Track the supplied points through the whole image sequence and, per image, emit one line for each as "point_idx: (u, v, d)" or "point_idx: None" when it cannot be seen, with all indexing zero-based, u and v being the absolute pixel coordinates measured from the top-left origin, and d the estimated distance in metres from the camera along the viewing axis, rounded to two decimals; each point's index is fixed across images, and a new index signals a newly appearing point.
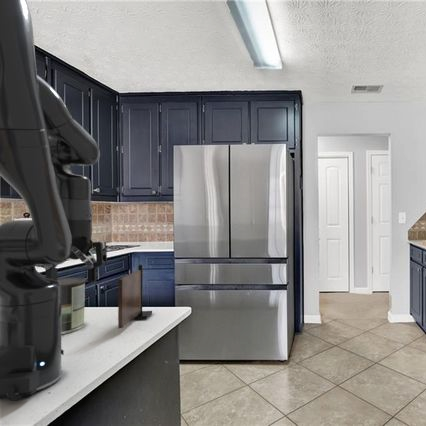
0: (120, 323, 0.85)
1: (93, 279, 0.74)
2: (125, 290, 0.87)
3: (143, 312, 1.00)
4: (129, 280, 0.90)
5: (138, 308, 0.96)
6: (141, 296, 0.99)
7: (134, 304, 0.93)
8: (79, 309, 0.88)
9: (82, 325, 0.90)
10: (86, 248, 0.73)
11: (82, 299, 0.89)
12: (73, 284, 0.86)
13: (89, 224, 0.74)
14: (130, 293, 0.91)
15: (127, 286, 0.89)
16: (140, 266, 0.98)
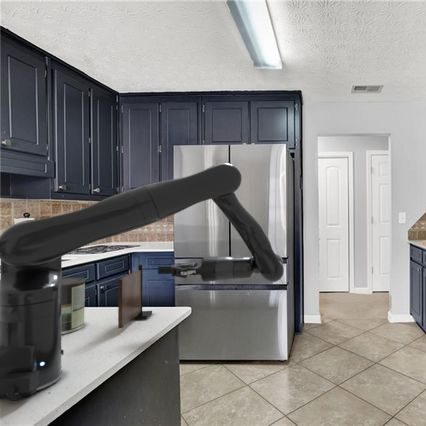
0: (120, 323, 0.85)
1: (161, 268, 0.89)
2: (125, 290, 0.87)
3: (143, 312, 1.00)
4: (129, 280, 0.90)
5: (138, 308, 0.96)
6: (141, 296, 0.99)
7: (134, 304, 0.93)
8: (79, 309, 0.88)
9: (82, 325, 0.90)
10: (186, 267, 0.89)
11: (82, 299, 0.89)
12: (73, 284, 0.86)
13: (210, 270, 0.89)
14: (130, 293, 0.91)
15: (127, 286, 0.89)
16: (140, 266, 0.98)
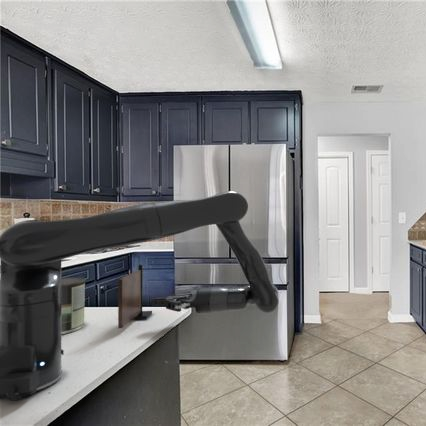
0: (120, 323, 0.85)
1: (155, 300, 0.89)
2: (125, 290, 0.87)
3: (143, 312, 1.00)
4: (129, 280, 0.90)
5: (138, 308, 0.96)
6: (141, 296, 0.99)
7: (134, 304, 0.93)
8: (79, 309, 0.88)
9: (82, 325, 0.90)
10: (180, 300, 0.88)
11: (82, 299, 0.89)
12: (73, 284, 0.86)
13: (205, 302, 0.89)
14: (130, 293, 0.91)
15: (127, 286, 0.89)
16: (140, 266, 0.98)
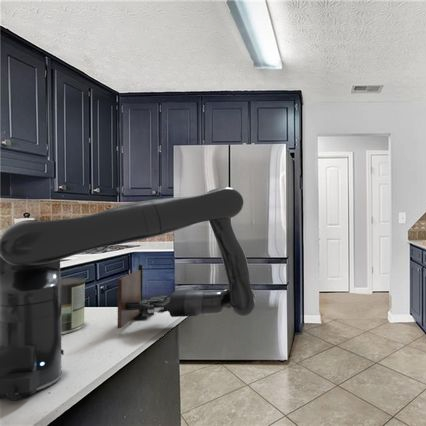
0: (119, 323, 0.85)
1: (129, 304, 0.88)
2: (125, 291, 0.87)
3: None
4: (129, 280, 0.90)
5: None
6: (141, 296, 0.99)
7: None
8: (79, 309, 0.88)
9: (82, 325, 0.90)
10: (153, 304, 0.87)
11: (82, 299, 0.89)
12: (73, 284, 0.86)
13: (179, 306, 0.88)
14: (130, 293, 0.90)
15: (127, 286, 0.88)
16: (140, 266, 0.98)
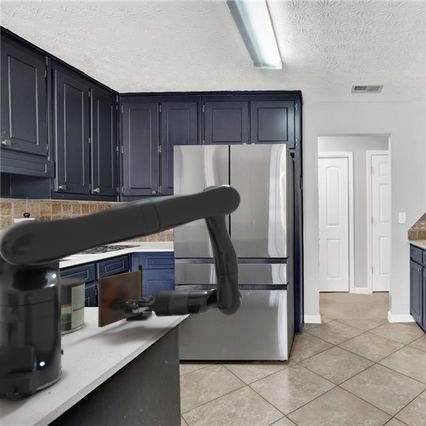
0: (99, 322, 0.86)
1: (114, 304, 0.88)
2: (108, 290, 0.88)
3: None
4: (116, 280, 0.90)
5: None
6: None
7: None
8: (79, 309, 0.88)
9: (82, 325, 0.90)
10: (139, 304, 0.87)
11: (82, 299, 0.89)
12: (73, 284, 0.86)
13: (164, 306, 0.87)
14: (118, 293, 0.91)
15: (112, 286, 0.89)
16: (140, 266, 0.98)
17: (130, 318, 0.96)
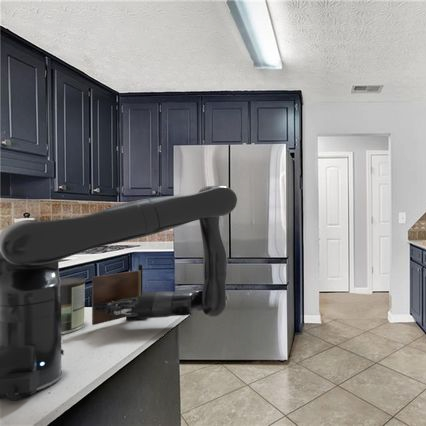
0: (92, 320, 0.88)
1: (96, 306, 0.86)
2: (101, 289, 0.89)
3: None
4: (111, 279, 0.91)
5: None
6: None
7: None
8: (79, 309, 0.88)
9: (82, 325, 0.90)
10: (121, 305, 0.86)
11: (82, 299, 0.89)
12: (73, 284, 0.86)
13: (147, 308, 0.86)
14: (114, 292, 0.91)
15: (106, 285, 0.90)
16: (140, 266, 0.98)
17: (130, 318, 0.96)
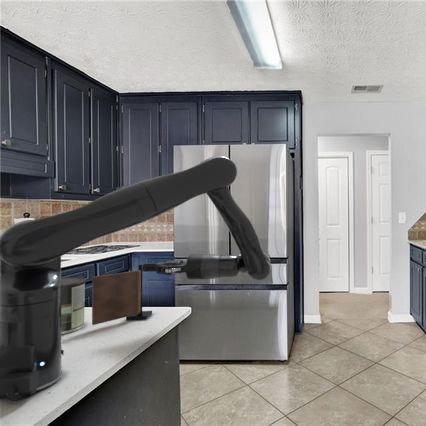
0: (92, 320, 0.88)
1: (146, 265, 0.88)
2: (101, 289, 0.89)
3: (143, 312, 1.00)
4: (111, 279, 0.91)
5: (135, 308, 0.96)
6: (141, 296, 0.99)
7: (124, 303, 0.94)
8: (79, 309, 0.88)
9: (82, 325, 0.90)
10: (171, 265, 0.88)
11: (82, 299, 0.89)
12: (73, 284, 0.86)
13: (196, 268, 0.88)
14: (114, 292, 0.91)
15: (106, 285, 0.90)
16: (140, 266, 0.98)
17: (130, 318, 0.96)
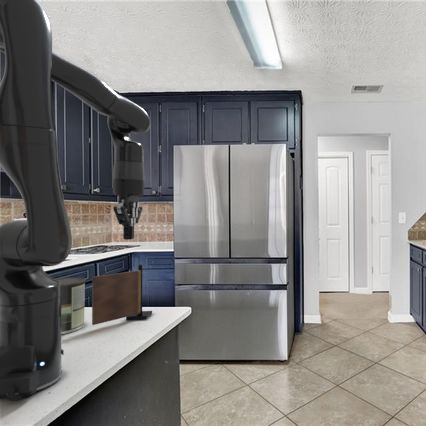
0: (92, 320, 0.88)
1: None
2: (101, 289, 0.89)
3: (143, 312, 1.00)
4: (111, 279, 0.91)
5: (135, 308, 0.96)
6: (141, 296, 0.99)
7: (124, 303, 0.94)
8: (79, 309, 0.88)
9: (82, 325, 0.90)
10: None
11: (82, 299, 0.89)
12: (73, 284, 0.86)
13: (121, 183, 0.82)
14: (114, 292, 0.91)
15: (106, 285, 0.90)
16: (140, 266, 0.98)
17: (130, 318, 0.96)
